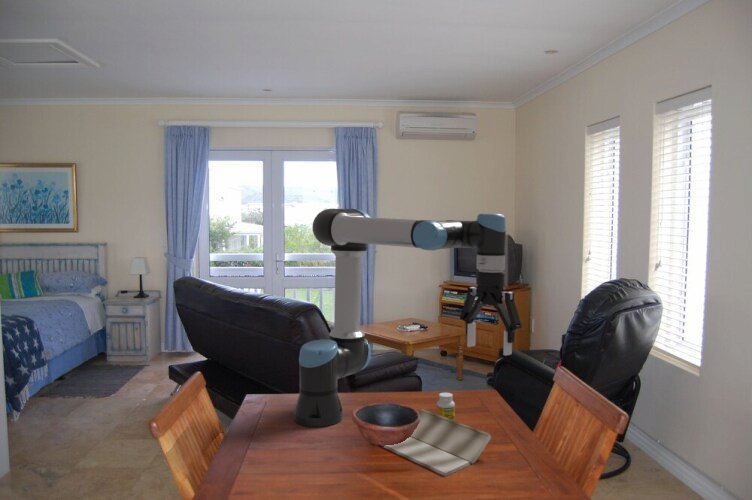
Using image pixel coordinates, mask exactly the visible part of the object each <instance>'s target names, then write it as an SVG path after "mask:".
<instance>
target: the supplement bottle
mask: <svg viewBox="0 0 752 500" xmlns="http://www.w3.org/2000/svg"><path fill="white" fill-rule="evenodd" d="M453 397H454V395H453V393H451V392H441V393H439V394H438V399H439V400H438V401H437V402H436V414H438V415H440V416H443V417H446V418H449V419H451V420H454V421H456V419H455V418H456V417H455V416H456V413H455V412H456V403H455V402H454V400H453Z"/></svg>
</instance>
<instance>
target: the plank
mask: <svg viewBox="0 0 752 500" xmlns="http://www.w3.org/2000/svg"><path fill="white" fill-rule="evenodd" d="M418 414H419V415H420V422H419V424H418V426H417V428H416V429H415V430H414V432H413V434H412V435H411V437H412V438H414V439H416V440H419V441H421V442H423V443H426V444H428V445H430V446H433V447H435V448H437V449H440V450H442V451H445V452H447V453H449V454H452V455H454V456H456V457H459V458H461V459H463V460H466V461H468V462H469V463H470V464H471V465H472V464H475V463H476V462H477V460H478V459H479V457H480V456H481V454H482V453H483V451H484V450H485V448H486V447H487V445H488V443H489V442H490V440H491V439H492V436H491V434H490V433H489V432H486V431H484V430H481V429H478V428H475V427H473V426H470V425H468V424H465V423H462V422H460V421H456V420H455V421H454V420H451V419H449V418H446V417H443V416H440V415H438V414H437V413H434V412H431V411H429V410H426V409H423V408H420V410H419V412H418V413H417V415H418Z"/></svg>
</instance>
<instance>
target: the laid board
mask: <svg viewBox="0 0 752 500" xmlns="http://www.w3.org/2000/svg"><path fill="white" fill-rule="evenodd" d="M383 448H384V449H386V450H388V451H390V452H392V453H395V454H397V455H399V456H401V457H403V458H405V459H408V460H410V461H412V462H414V463H416V464H418V465H420V466H423V467H424V468H427V469H429V470H431V471H433V472H435V473H437V474H439V475H442V476H444V477H447V476H450V475H451V474H453V473H455V472H458V471H460V470H462V469H464V468H466V467H468V466H470V465H472V463H469V462H468V461H466V460H463V459H461V458H459V457H456V456H454V455H452V454H449V453H447V452H445V451H442V450H440V449H437V448H435V447H433V446H430V445H428V444H426V443H423V442H421V441H419V440H416V439H414V438H412V437H409V438H407V439H406V440H405V441H403V442H401V443H398V444H394V445H385V446H384V447H383Z"/></svg>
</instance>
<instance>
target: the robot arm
mask: <svg viewBox="0 0 752 500" xmlns="http://www.w3.org/2000/svg"><path fill="white" fill-rule="evenodd" d="M311 226H312V233H313V235H314V238H315V239H316V241H318V243H320V244H321V245H325V246H327V247H328V246H329V247H330V251H331V252H332V253H333V254H334V256H335V263H334V264H335V269H334V276H335V277H334V314H333V315H334V316H333V317H334V319H333V322H334V323H333V329H332V330H331V331H330V332H329V334H328V335H329V337H328V338H326V339H325V338H321V339H315V340H311V341H307V342H305V343H304V344H303V345H302V346H301V347H300V350H299V357H298V365H299V367H298V368H299V369H298V371H299V376H298V377H299V378H298V379H299V395H298V398H297V400H296V404H295V408H294V410H293V421H294V422H295V423H297V424H298V425H301V426H306V427H311V428H312V427H315V428H320V427H328V426H331V425H335V424H338V423H339V422H341V421H342V420H343V418H344V409H343V406H342V403H341V400H340V397H339V393H338V380H340V379H342V378H345V377H347V376H350V375H355V374H357V373H359V372H360V371H362V370H364V369H366V367H367V366H368V365H369V363H370V361H371V357H372V347H371V345H370V343H369V341H368V339H366V338H365V337H366V333H365V332H364V331H363V330H362V328H361V319H362V318H361V317H362V316H361V315H362V314H361V313H362V312H361V311H362V309H361V308H362V279H363V278H362V275H363V273H362V272H363V267H362V266H363V256H364V255H365V254H366V253H367V252H368V245H380V246H388V247H390V246H392V247H403V248H404V247H405V248H414V249H421V250H424V251H436V250H443V249H444V250H447V249H455V248H456V249H458V248H459V249H460V248H461V249H463V248H465V249H466V248H467V249H468V248H469V249H476V270H478V271H476V274H475V275H476V277H475V280H476V281H475V284H476V286H477V287H476V286H470V287H468V288H466V289H467V290H466V292H467V293H466V298H465V301H464V304H463V306H462V310H461V312H460V315H459V319H460V320H461V321H463V322H464V323H465V334H466V335H467V336H466V338H467V341H466V343H467V344H466V345H467V348H471V347H472V348H473V347H475V346H476V343H477V342H476V336H477V335H476V334H477V324H476V322H475V319H476V318H477V316H478V314H479V313H480V311H481V310H482V308H483V307H484V306H486V305H488V306H491V307H492V306H493V308H494V309H495V310H496V312H497V313H498V316H499V317H500V319H501V321H502V324H503V326H504V328H505V330H503V353H502V355H503V356H506V357H507V356H510V355H512V353H513V343H515V332H516V330H520V329H522V327H523V326H522V323H521V319H520V316H519V313H518V309H517V306H516V302H515V292H514V291H504V290H505V289H504V285H505V282H506V281H505V280H506V279H505V278H506V277H505V275H506V274H505V272H504V270H506V268H505V267H506V233H507V228H506V217H505V215H504V214H502V213H479V214H478V215H477V218H476V220H453V219H447V220H431V219H429V220H427V219H409V218H408V219H405V218H404V219H403V218H390V217H389V218H385V217H371V216H370V215H369V214H368V213H367V212H366V211H364V210H361V209H356V208H326V209H324V210H322V211H320V212H318V214H317V215H316V216H315V217H314V219H313V222H312V225H311ZM476 297H477V298H476Z"/></svg>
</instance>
